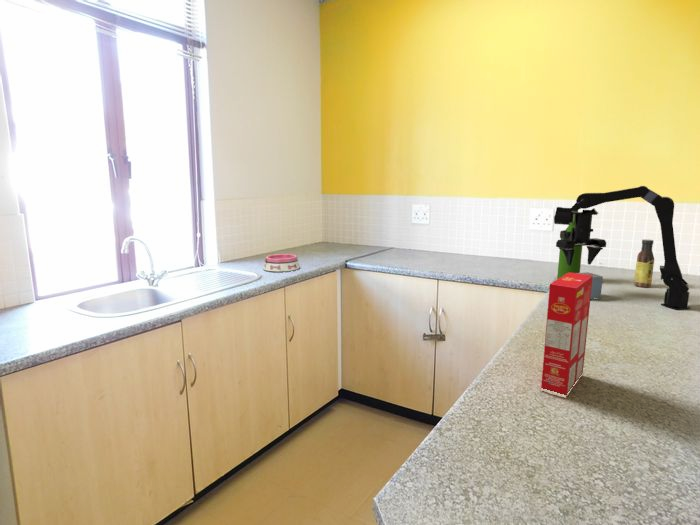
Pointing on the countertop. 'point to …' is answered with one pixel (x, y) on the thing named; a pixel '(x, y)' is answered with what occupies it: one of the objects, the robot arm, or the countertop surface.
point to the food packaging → (566, 331)
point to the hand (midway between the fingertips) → (579, 265)
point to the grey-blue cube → (595, 285)
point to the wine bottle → (576, 260)
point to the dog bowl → (281, 263)
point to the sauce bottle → (644, 265)
